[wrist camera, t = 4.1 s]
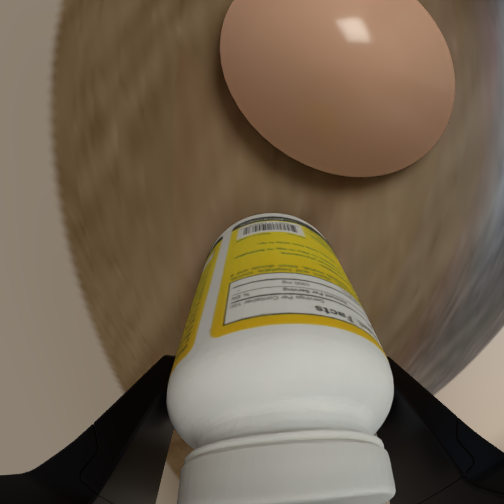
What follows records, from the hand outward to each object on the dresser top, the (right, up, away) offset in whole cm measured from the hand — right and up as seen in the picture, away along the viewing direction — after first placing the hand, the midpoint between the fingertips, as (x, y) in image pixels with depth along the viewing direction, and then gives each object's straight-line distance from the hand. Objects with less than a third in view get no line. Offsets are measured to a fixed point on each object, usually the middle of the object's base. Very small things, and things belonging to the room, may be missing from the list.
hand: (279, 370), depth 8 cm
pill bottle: (0, +3, +6) cm, 6 cm away
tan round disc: (+3, +12, +1) cm, 13 cm away
